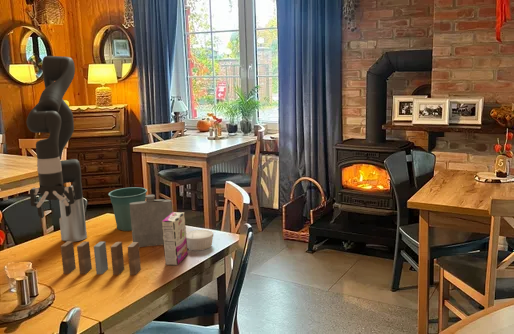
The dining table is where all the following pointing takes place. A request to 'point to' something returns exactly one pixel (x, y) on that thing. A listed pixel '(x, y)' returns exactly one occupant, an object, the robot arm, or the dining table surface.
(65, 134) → the robot arm
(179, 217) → the candy bar box
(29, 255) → the dining table surface
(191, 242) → the ramekin
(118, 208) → the flower pot
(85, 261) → the domino
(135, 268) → the domino
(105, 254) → the domino
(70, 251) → the domino
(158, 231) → the hip flask
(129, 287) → the dining table surface
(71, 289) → the dining table surface
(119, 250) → the domino
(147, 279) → the dining table surface
